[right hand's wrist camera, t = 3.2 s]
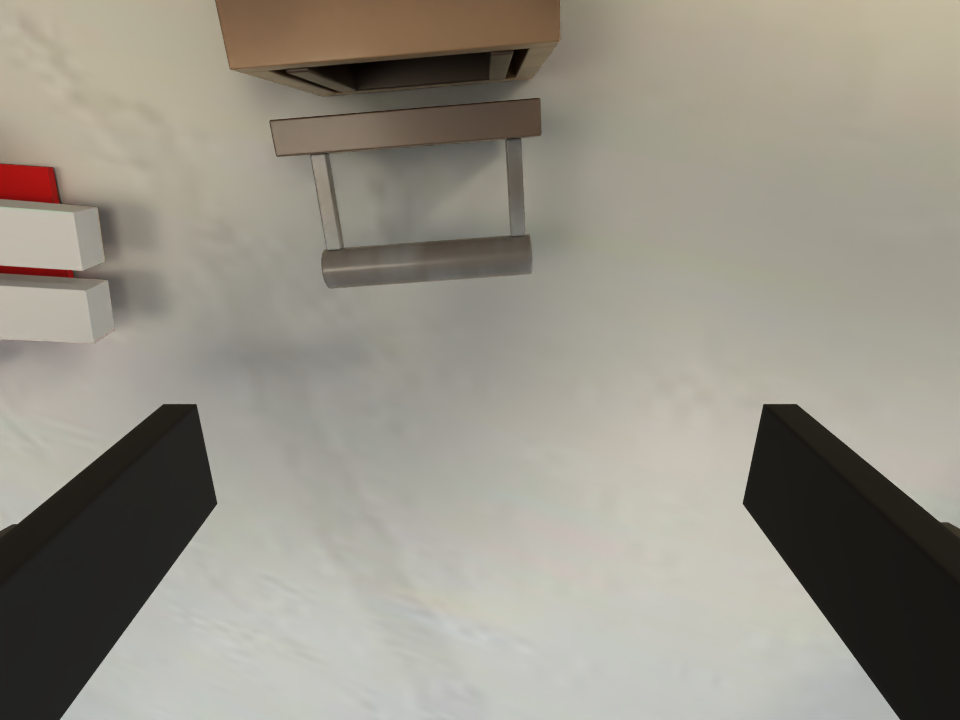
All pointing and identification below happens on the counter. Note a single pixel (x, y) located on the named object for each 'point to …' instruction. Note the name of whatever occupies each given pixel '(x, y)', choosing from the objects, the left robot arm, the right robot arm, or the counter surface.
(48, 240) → the toy
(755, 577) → the counter surface
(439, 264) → the drawer
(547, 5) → the cabinet
